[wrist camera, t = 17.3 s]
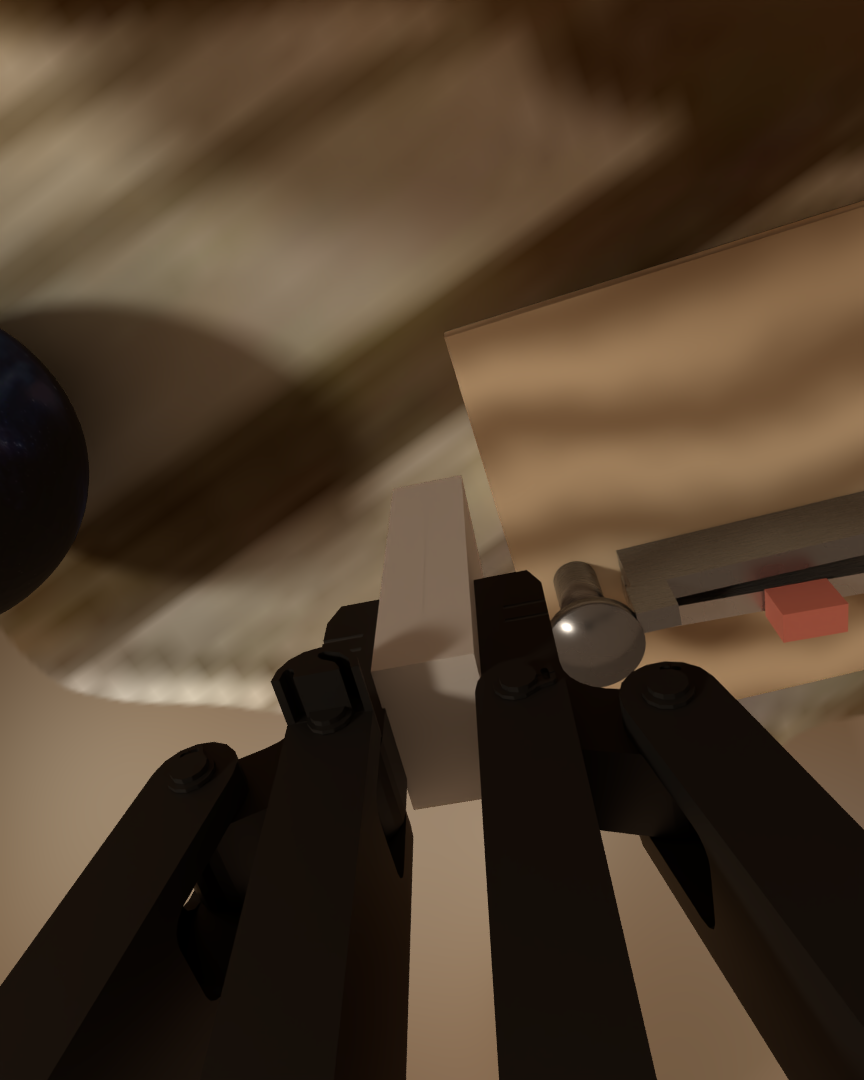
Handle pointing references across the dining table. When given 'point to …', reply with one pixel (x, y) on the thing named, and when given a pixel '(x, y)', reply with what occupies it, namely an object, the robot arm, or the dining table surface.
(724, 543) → the grey lever with knob
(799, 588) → the tab
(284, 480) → the dining table surface
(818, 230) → the board
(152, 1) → the dining table surface
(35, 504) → the decorative sphere
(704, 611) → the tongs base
